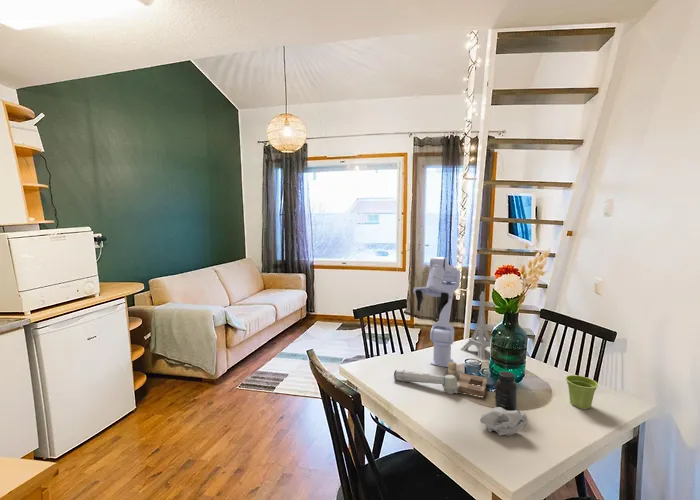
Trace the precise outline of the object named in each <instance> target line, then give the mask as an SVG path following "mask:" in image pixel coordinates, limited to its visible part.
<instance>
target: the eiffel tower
mask: <svg viewBox="0 0 700 500" xmlns="http://www.w3.org/2000/svg"><path fill="white" fill-rule="evenodd" d="M485 300H486V295H485V293H484V291H481V293H480V294H479V309H478V310H479V312H478V315H477V323H476V326H475V327H474V328H475V330H474V332H473V334H472V335H471V337H470V338H468V341H467V342H466V343H465V344H464V345H463V346H462V347H461V348H460V350H461V351H462V352H467V351H469V348H470V347H471V346H475V347H476V348H477V356H476V358H477V359H479V360H484V359H486V356H485V351H486V348H488V347H489V348H490V339H491V337H490V335H489V332H488V327H487V323H486V314H485V313H486V312H485V311H486V310H485Z"/></svg>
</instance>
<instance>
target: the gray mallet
mask: <svg viewBox="0 0 700 500" xmlns="http://www.w3.org/2000/svg"><path fill="white" fill-rule="evenodd" d="M393 379H394V380H395V381H398V382H403V383H405V382H410V383H422V384H424V383H425V384H435V385H441V386H442V388H443V391H444V393H447V394H448V395H454V394H458V393H459V387H460V384H459V383H458V382H457V381H458V379H457V377H455V376H454V375H448V374H446V375H440V374H439V375H438V374H431V373H424V372H416V371H409V370H405V369H402V370H401V369H400V370H399V369H398V370H397V369H395V371H394V373H393ZM459 394H460V393H459Z"/></svg>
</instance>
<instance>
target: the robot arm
mask: <svg viewBox="0 0 700 500" xmlns="http://www.w3.org/2000/svg"><path fill="white" fill-rule="evenodd" d="M428 268H429V269H428V271H429V273H428V277H427V281H426V286H420V287H418V286H414V287H413V289H412V290H413V291H412V293H413V295H415V296H416V301H417V305H416V306H417V307H416V308H417V311H418V312H420V311H421V306H422V302H423V299H424V297H423V295H426V296H428V297H430V298H431V297H432V298H440V300H439V306H438V308H437V314H438V315H439V318H438V321H436V322H434V323H433V324H432V325H431V326H432V327H431V329H430V332H429V339H430V342H432V344H433V358H432V360H431V362H430V364H431V365H435V366H439V367H444V368H448V362H453V358H452V357H451V355H452V354H451V353H452V352H451V351H452V346H451V345H453V344H454V341H455V328H454V326H453V325H452V324H451V323H450V318H451V311H452V304H453V297H454V292H455V291H456V290H458V289H459V286H460V280H461V270H460V269H458V268H457V267H455V266H451V265H450V264H449V261H448V257H443V256H432V257H431V258H430V260H429V267H428Z"/></svg>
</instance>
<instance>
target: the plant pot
mask: <svg viewBox="0 0 700 500" xmlns="http://www.w3.org/2000/svg"><path fill="white" fill-rule="evenodd" d="M565 381H566V383H567V387H568V395H569V403H570V404H571V405H572V406H575V407H576V408H578V409H582V410H589V409H592V404H593V399H594V395H595V391H596V390H597V388H598V387H599V383H598V382H597V381H596V380H594V379H592V378H589V377H586V376H583V375H577V374H573V375H572V374H570V375H567V376H566V377H565Z"/></svg>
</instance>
